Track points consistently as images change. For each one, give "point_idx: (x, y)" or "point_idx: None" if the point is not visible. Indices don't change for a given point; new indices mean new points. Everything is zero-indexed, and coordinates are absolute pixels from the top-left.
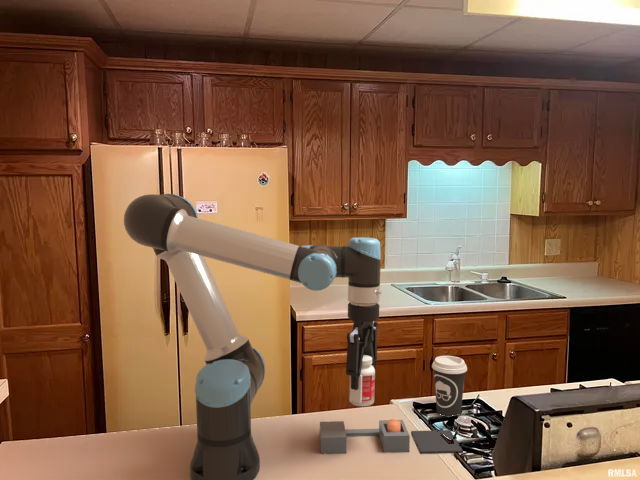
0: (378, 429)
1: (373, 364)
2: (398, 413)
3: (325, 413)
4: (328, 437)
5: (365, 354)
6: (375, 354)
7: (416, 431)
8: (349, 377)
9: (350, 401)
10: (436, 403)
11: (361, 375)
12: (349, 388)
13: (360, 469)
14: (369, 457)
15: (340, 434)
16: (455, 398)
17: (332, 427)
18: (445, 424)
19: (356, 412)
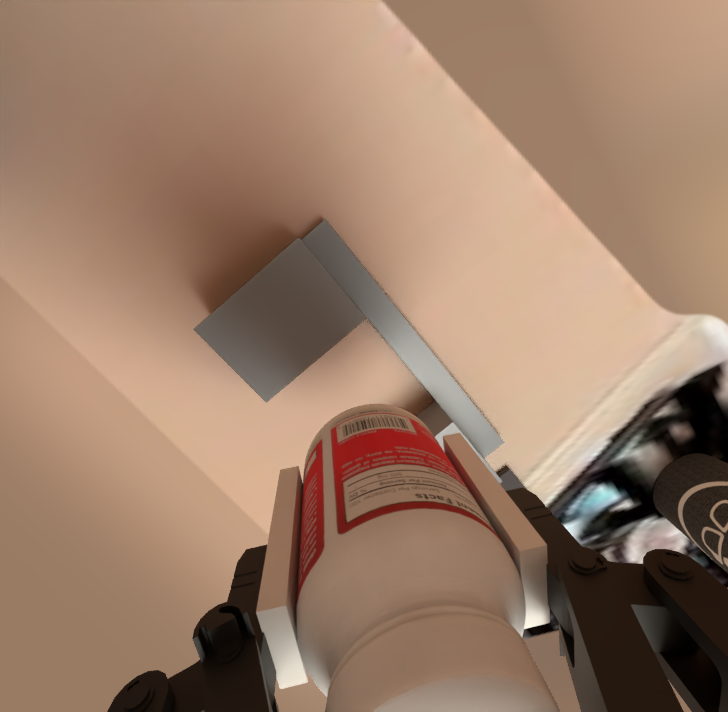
0: (456, 392)
1: (560, 638)
2: (611, 369)
3: (476, 131)
4: (216, 351)
5: (594, 700)
6: (689, 697)
7: (514, 481)
8: (337, 499)
9: (311, 443)
10: (700, 477)
11: (297, 682)
12: (324, 462)
13: (229, 463)
14: (302, 447)
15: (267, 373)
16: (719, 565)
17: (291, 314)
18: (606, 513)
19: (547, 238)
